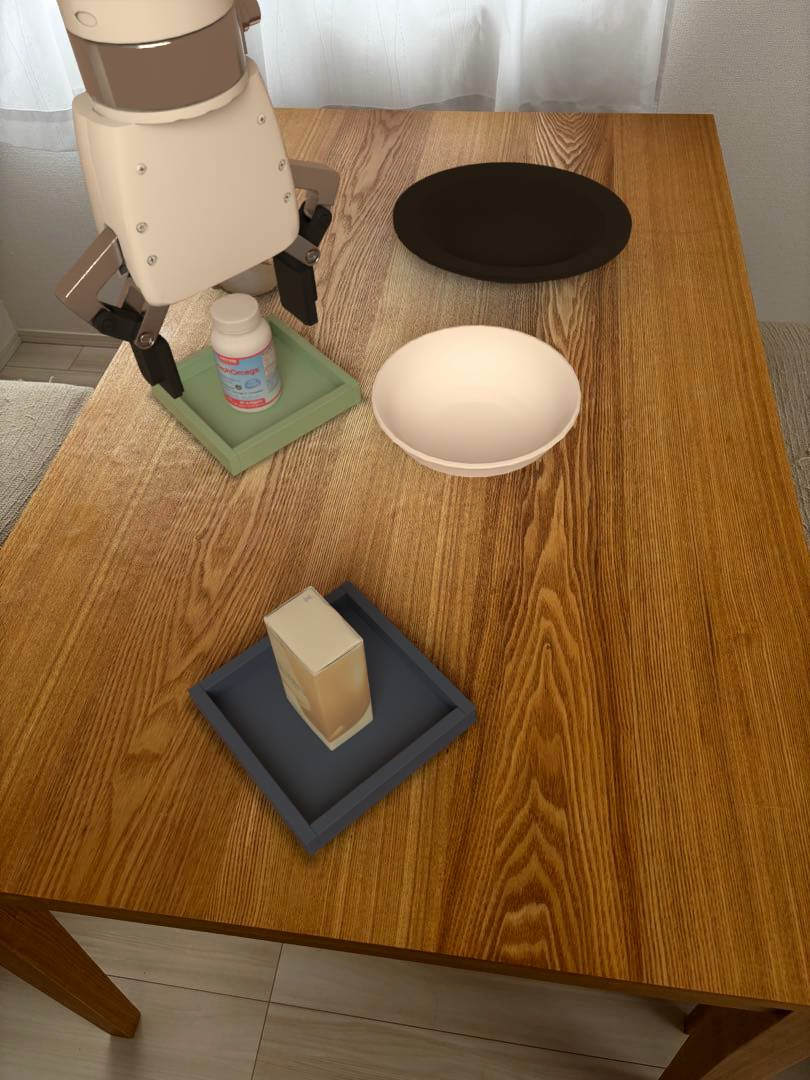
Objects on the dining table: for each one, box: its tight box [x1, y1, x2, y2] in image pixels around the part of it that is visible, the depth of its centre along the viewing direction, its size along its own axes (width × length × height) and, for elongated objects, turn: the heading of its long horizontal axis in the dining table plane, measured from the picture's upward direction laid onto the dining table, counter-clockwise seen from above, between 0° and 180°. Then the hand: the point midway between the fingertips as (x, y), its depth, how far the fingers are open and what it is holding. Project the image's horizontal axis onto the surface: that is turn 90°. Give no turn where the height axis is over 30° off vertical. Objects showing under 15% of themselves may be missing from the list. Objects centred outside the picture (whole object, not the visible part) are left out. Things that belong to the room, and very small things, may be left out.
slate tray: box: [187, 579, 477, 857], centre depth 68 cm, size 16×16×2 cm
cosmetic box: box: [263, 585, 373, 750], centre depth 64 cm, size 6×4×12 cm
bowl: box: [370, 324, 582, 478], centre depth 84 cm, size 20×20×6 cm
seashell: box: [210, 260, 278, 298], centre depth 103 cm, size 8×3×8 cm
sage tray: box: [149, 312, 363, 477], centre depth 91 cm, size 16×16×2 cm
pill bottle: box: [209, 293, 282, 413], centre depth 87 cm, size 6×6×11 cm
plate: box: [392, 161, 633, 285], centre depth 104 cm, size 28×24×6 cm
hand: (236, 349), depth 53 cm, fingers open, 9 cm apart
